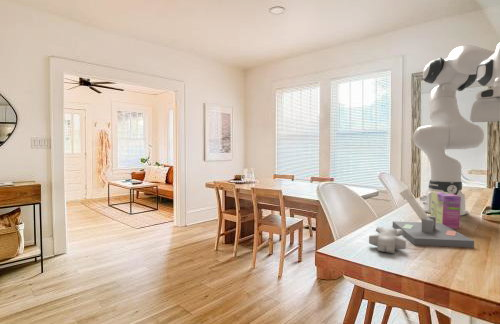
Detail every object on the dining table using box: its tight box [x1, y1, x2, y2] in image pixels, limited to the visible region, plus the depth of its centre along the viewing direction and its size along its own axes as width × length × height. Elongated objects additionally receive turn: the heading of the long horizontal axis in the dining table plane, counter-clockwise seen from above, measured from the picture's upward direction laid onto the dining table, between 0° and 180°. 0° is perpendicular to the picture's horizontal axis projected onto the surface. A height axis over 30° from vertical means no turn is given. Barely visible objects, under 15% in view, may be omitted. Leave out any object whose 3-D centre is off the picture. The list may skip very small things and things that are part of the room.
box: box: [430, 191, 461, 230], centre depth 108 cm, size 10×6×12 cm, turn 168°
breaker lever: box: [399, 188, 435, 227], centre depth 96 cm, size 3×4×14 cm
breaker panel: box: [392, 215, 475, 249], centre depth 94 cm, size 20×16×6 cm
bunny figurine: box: [368, 226, 407, 254], centre depth 85 cm, size 10×5×15 cm
